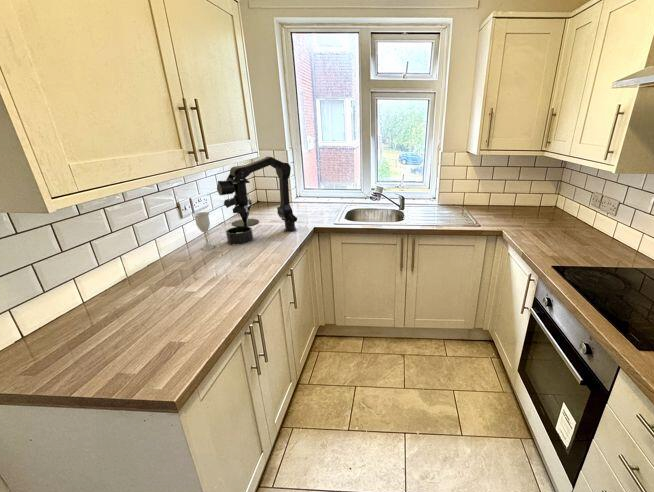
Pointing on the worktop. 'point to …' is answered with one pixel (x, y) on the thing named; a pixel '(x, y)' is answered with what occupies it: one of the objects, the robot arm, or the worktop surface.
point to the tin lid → (248, 223)
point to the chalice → (203, 227)
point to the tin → (239, 235)
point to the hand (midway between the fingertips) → (245, 221)
